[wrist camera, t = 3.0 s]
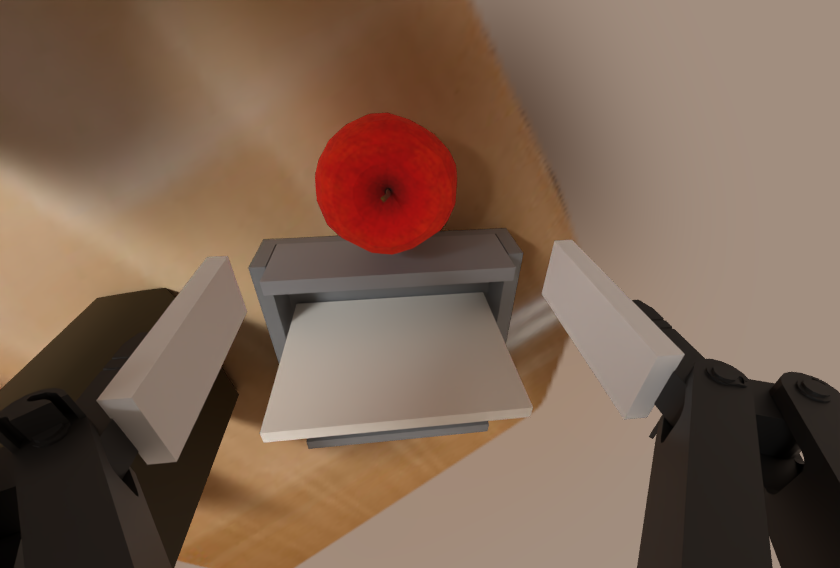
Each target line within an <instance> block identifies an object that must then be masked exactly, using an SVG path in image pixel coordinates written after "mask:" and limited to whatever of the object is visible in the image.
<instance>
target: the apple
mask: <svg viewBox="0 0 840 568" xmlns="http://www.w3.org/2000/svg"><path fill="white" fill-rule="evenodd" d="M315 183H316V196H317V202H318V204H319V207H320V209H321V211H322V214H323V216H324V218H325V220H326V223H327V225H328V226H329V227H330V228H331V229H333V230H334V231H335V232H336V233H337V234H338V235H339V236H340V237H341V238H343V239H345V240H347V241H349V242H351V243H353V244H355V245H357V246H359V247H361V248H363V249H365V250H367V251H369V252H371V253H379V254H391V255H393V254H396V253H400V252H403V251H406V250H409V249H413V248H414V247H416V246H418V245H419V244H421V243H422V242H424V241H425V240H427V239H428V238H430V237H431V236H433V235H434V234H436V233H437V232H439V231H440V230H441V229H442V228H443V226H444V225H445V224H446V222H447V221H448V219H449V217H450V215H451V212H452V210H453V208H454V206H455V202H456V188H457V171H456V164H455V162H454V160H453V158H452V155H451V153H450V151H449V150H448V149H447V148H446V146H445V145H444V144H443V143H442V142H441V141H440V140H439V139H438V138H437V137H436V136H435V135H434V134H433V133H432V132H430V131H428V130H427V129H425V128H424V127H422V126H420V125H418V124H416V123H415V122H413V121H411V120H409V119H406V118H403V117H400V116H397V115H393V114H390V113H374V114H368V115H365V116H363V117H361V118H359V119H357V120H355V121H352V122H350V123H348V124H346V125H345V126H344V127H343V128H342V129H341V130H339V131H338V132H337V133H336V134H335V135H334V136H333V137H332V138H331V139H330V140H329V141H328V143H327V145H326V147H325V149H324V151H323V153H322V155H321V156H320V158H319V161H318V165H317V169H316V173H315Z"/></svg>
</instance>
